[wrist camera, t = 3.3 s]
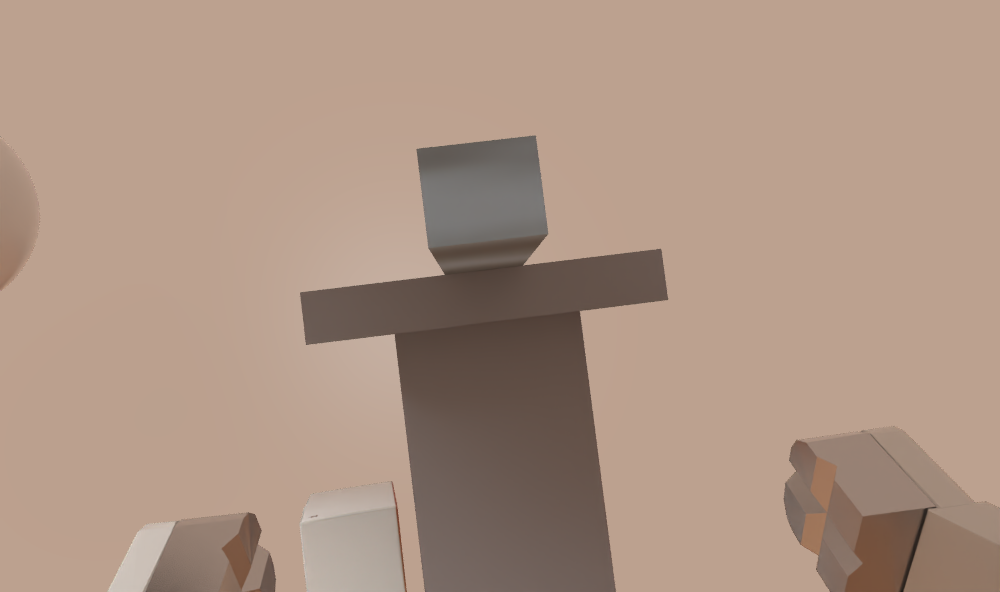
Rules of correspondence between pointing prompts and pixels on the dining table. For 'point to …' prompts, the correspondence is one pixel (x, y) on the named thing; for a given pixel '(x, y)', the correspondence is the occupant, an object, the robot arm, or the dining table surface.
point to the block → (482, 203)
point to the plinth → (499, 413)
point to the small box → (353, 540)
